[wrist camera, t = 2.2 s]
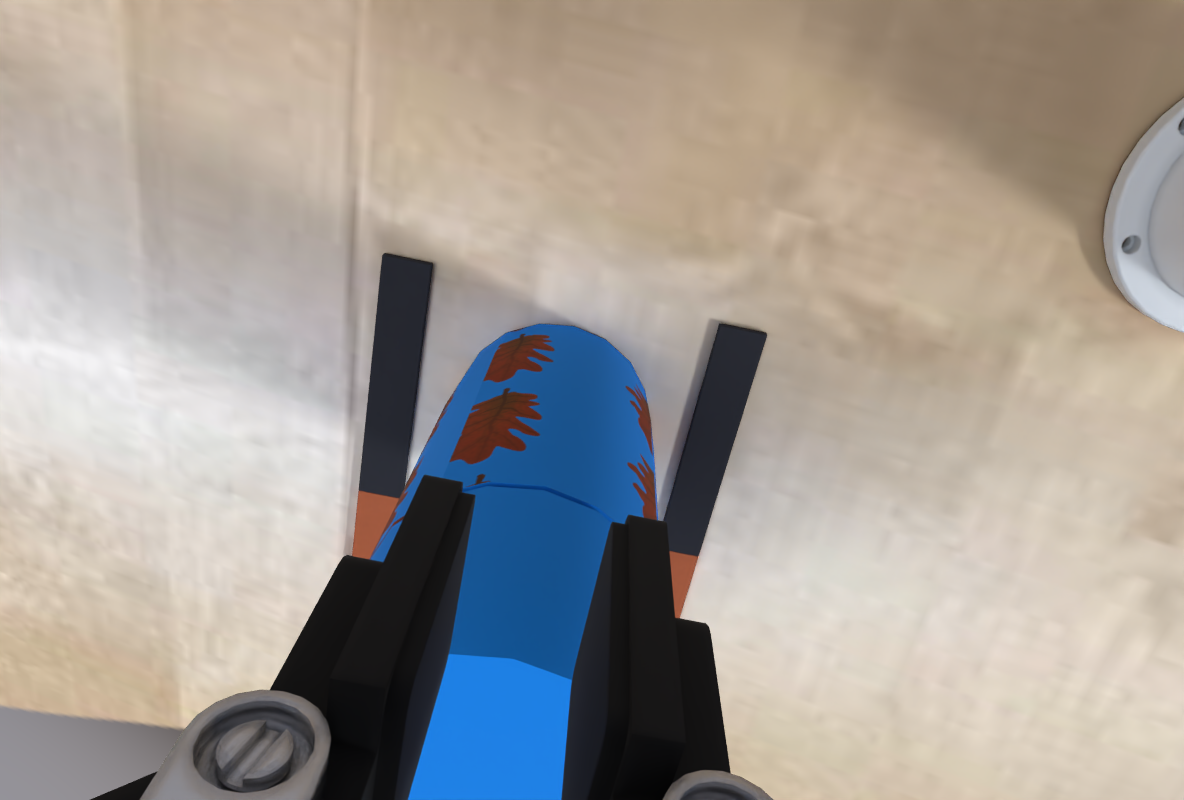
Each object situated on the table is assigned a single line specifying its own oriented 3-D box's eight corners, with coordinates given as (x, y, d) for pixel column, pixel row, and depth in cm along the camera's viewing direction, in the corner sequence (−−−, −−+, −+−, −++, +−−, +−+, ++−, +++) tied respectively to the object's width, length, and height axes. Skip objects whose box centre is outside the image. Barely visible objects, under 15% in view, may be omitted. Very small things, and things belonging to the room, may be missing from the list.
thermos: (427, 456, 46) (232, 866, 23) (494, 288, 42) (337, 587, 19) (604, 525, 48) (583, 976, 25) (685, 369, 43) (750, 738, 21)
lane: (384, 252, 41) (382, 254, 41) (766, 332, 42) (767, 335, 42) (344, 647, 52) (342, 651, 52) (651, 704, 53) (651, 708, 53)
